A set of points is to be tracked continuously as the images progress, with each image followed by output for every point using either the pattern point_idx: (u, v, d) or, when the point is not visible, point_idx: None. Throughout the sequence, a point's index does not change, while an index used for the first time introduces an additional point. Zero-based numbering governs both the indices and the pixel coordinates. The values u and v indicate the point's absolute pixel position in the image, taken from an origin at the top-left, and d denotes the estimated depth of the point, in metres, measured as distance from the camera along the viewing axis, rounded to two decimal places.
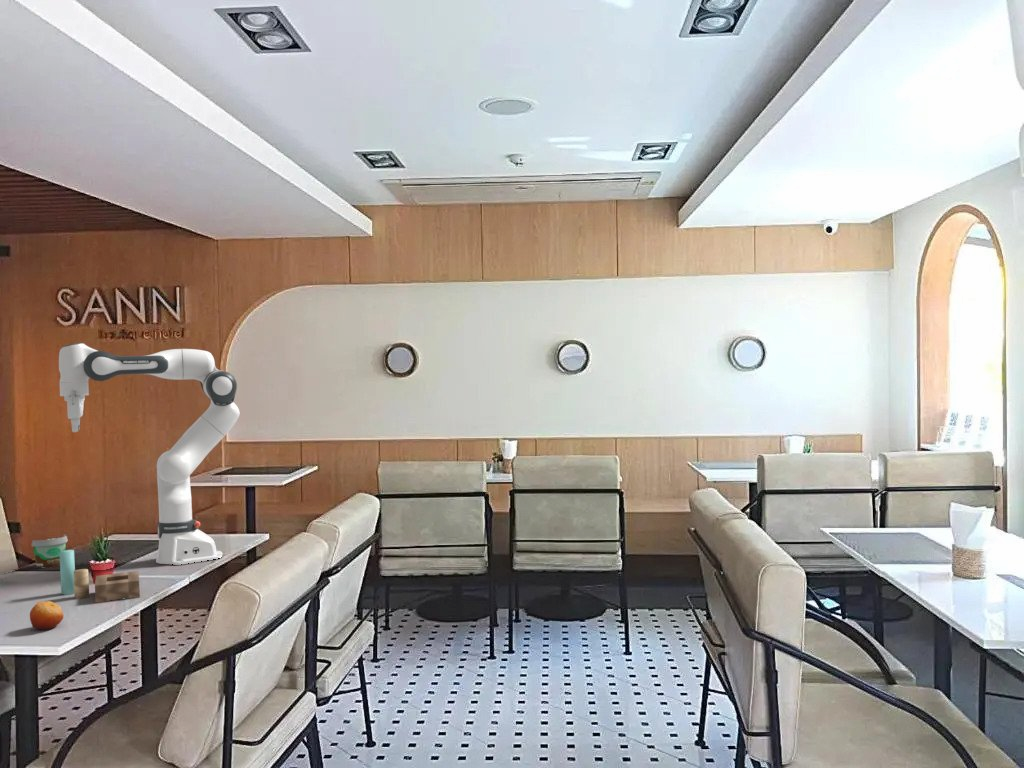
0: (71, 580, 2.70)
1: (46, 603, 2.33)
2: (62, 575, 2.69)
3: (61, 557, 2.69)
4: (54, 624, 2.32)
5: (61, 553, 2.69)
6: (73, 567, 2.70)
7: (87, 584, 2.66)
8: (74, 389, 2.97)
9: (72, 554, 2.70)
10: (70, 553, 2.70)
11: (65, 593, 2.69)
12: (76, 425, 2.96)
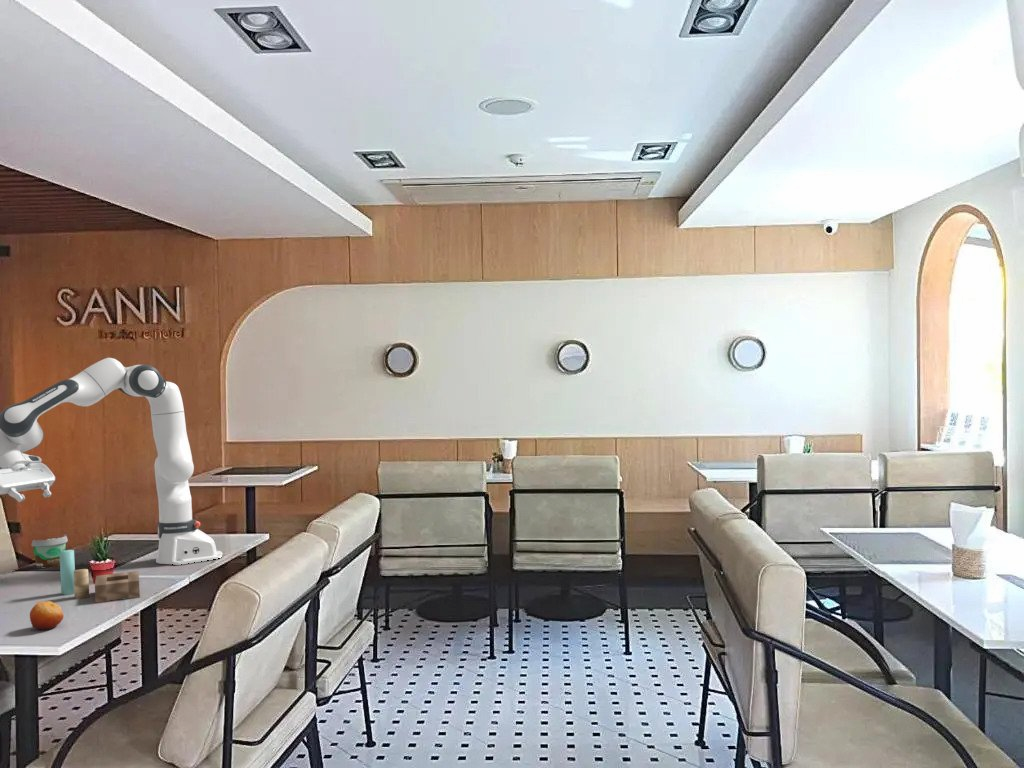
0: (71, 580, 2.70)
1: (46, 603, 2.33)
2: (62, 575, 2.69)
3: (61, 557, 2.69)
4: (54, 624, 2.32)
5: (61, 553, 2.69)
6: (73, 567, 2.70)
7: (87, 584, 2.66)
8: None
9: (72, 554, 2.70)
10: (70, 553, 2.70)
11: (65, 593, 2.69)
12: (16, 494, 2.70)
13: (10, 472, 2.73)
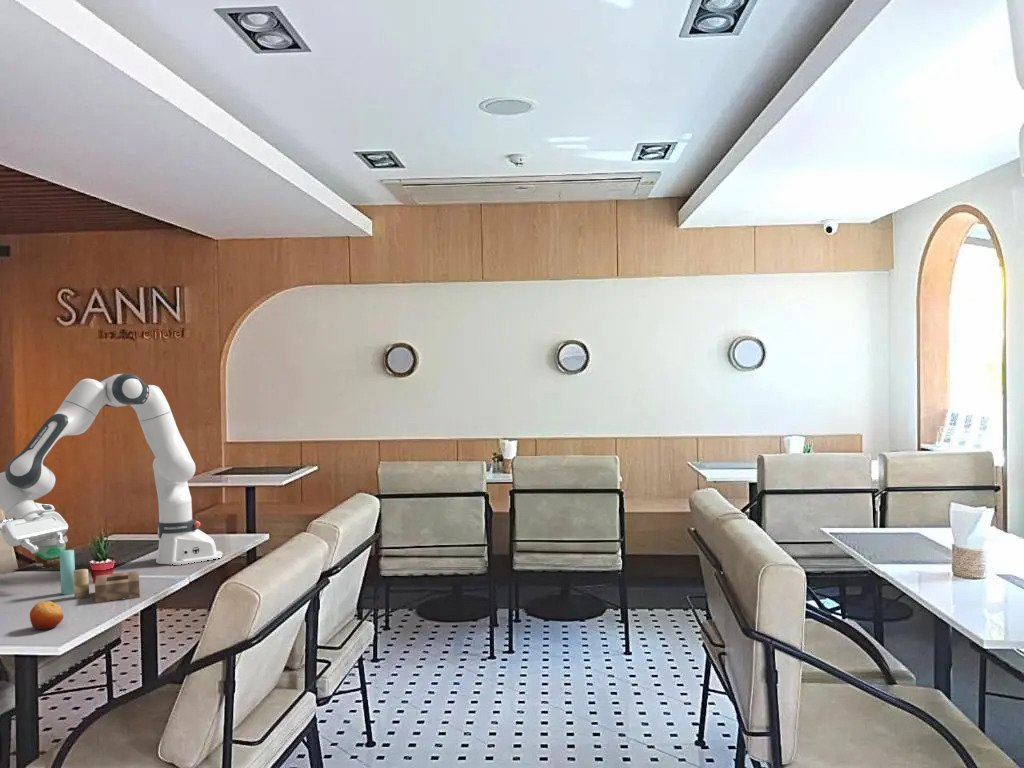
0: (71, 580, 2.70)
1: (46, 603, 2.33)
2: (62, 575, 2.69)
3: (61, 557, 2.69)
4: (54, 624, 2.32)
5: (61, 553, 2.69)
6: (73, 567, 2.70)
7: (87, 584, 2.66)
8: (12, 516, 2.73)
9: (72, 554, 2.70)
10: (70, 553, 2.70)
11: (65, 593, 2.69)
12: (29, 546, 2.68)
13: (23, 523, 2.72)
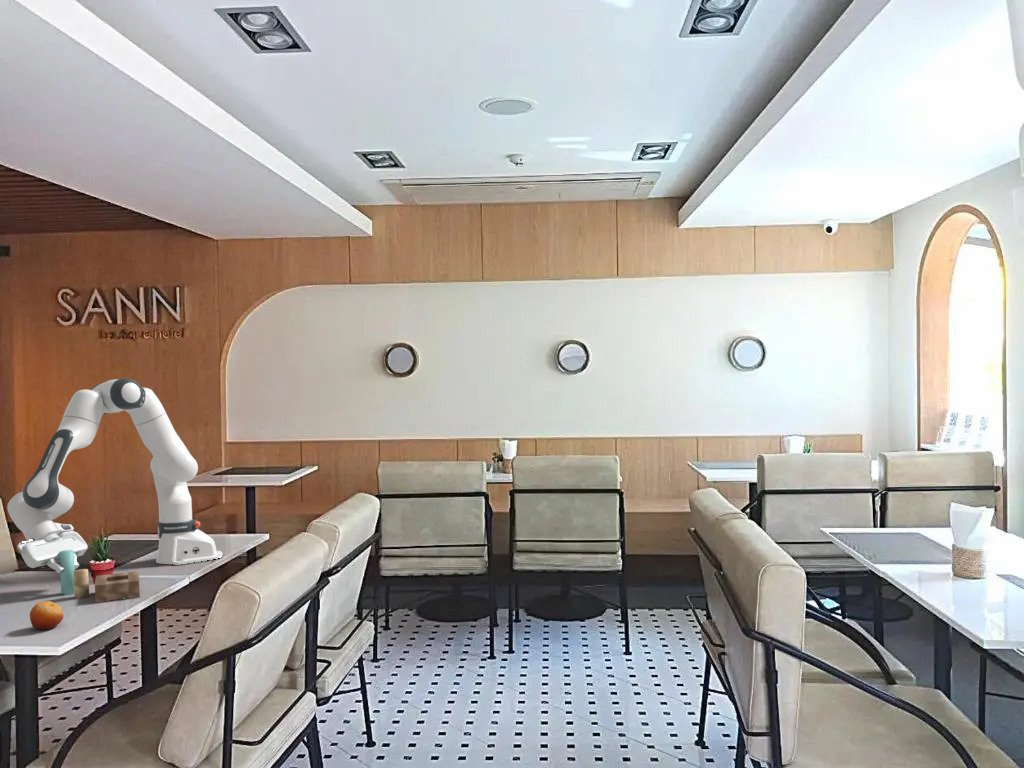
0: (71, 580, 2.70)
1: (46, 603, 2.33)
2: (62, 575, 2.69)
3: (61, 557, 2.69)
4: (54, 624, 2.32)
5: (61, 553, 2.69)
6: (73, 567, 2.70)
7: (87, 584, 2.66)
8: (31, 537, 2.70)
9: (72, 554, 2.70)
10: (70, 553, 2.70)
11: (65, 593, 2.69)
12: (55, 565, 2.67)
13: (43, 543, 2.69)
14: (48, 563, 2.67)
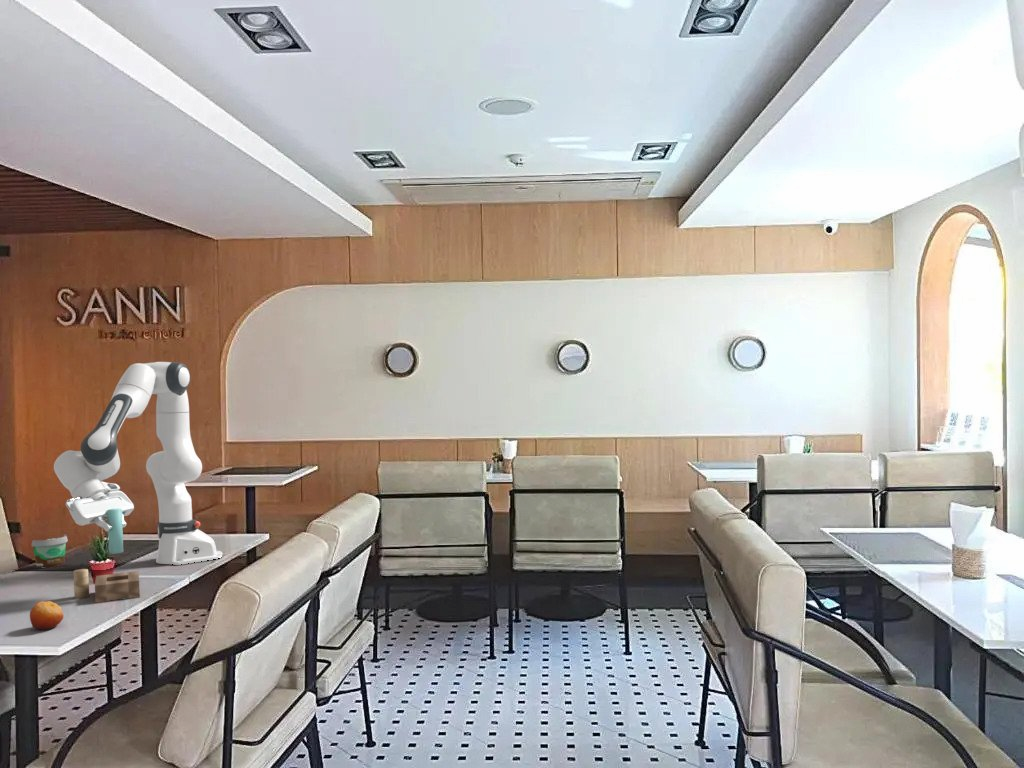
0: (119, 538, 2.66)
1: (46, 603, 2.33)
2: (110, 533, 2.65)
3: (109, 515, 2.65)
4: (54, 624, 2.32)
5: (109, 511, 2.65)
6: (121, 526, 2.67)
7: (87, 584, 2.66)
8: (79, 495, 2.66)
9: (120, 512, 2.66)
10: (118, 511, 2.66)
11: (113, 552, 2.65)
12: (103, 523, 2.64)
13: (91, 501, 2.65)
14: (96, 521, 2.64)
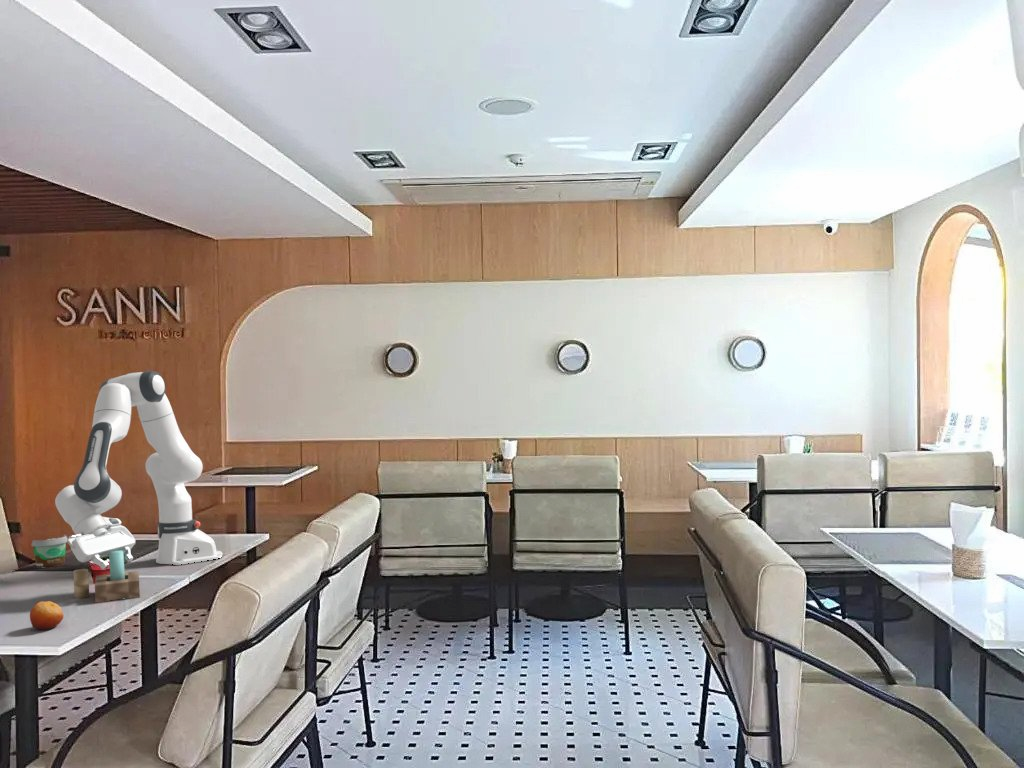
0: None
1: (46, 603, 2.33)
2: (112, 576, 2.65)
3: (111, 558, 2.65)
4: (54, 624, 2.32)
5: (111, 554, 2.65)
6: (123, 568, 2.67)
7: (87, 584, 2.66)
8: (80, 531, 2.66)
9: (122, 555, 2.67)
10: (120, 554, 2.66)
11: None
12: (99, 561, 2.62)
13: (92, 538, 2.66)
14: (92, 559, 2.62)
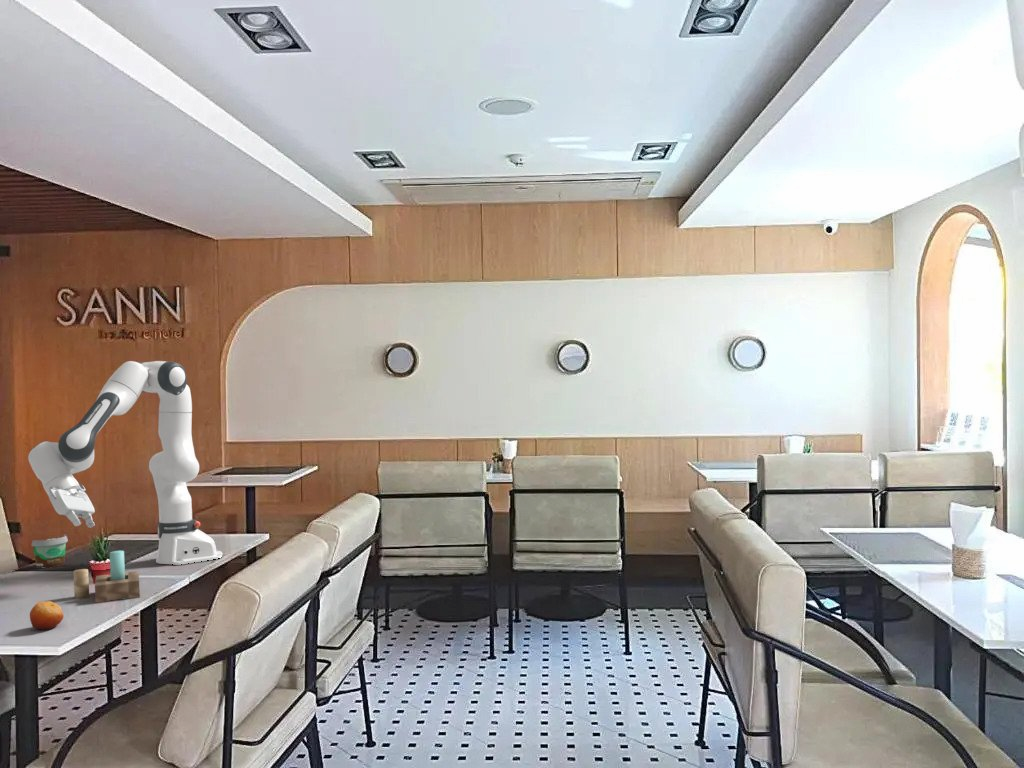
0: None
1: (46, 603, 2.33)
2: (112, 576, 2.65)
3: (111, 558, 2.65)
4: (54, 624, 2.32)
5: (111, 554, 2.65)
6: (123, 568, 2.67)
7: (87, 584, 2.66)
8: (56, 486, 2.71)
9: (122, 555, 2.67)
10: (121, 554, 2.66)
11: None
12: (74, 518, 2.68)
13: (68, 494, 2.71)
14: (68, 514, 2.67)
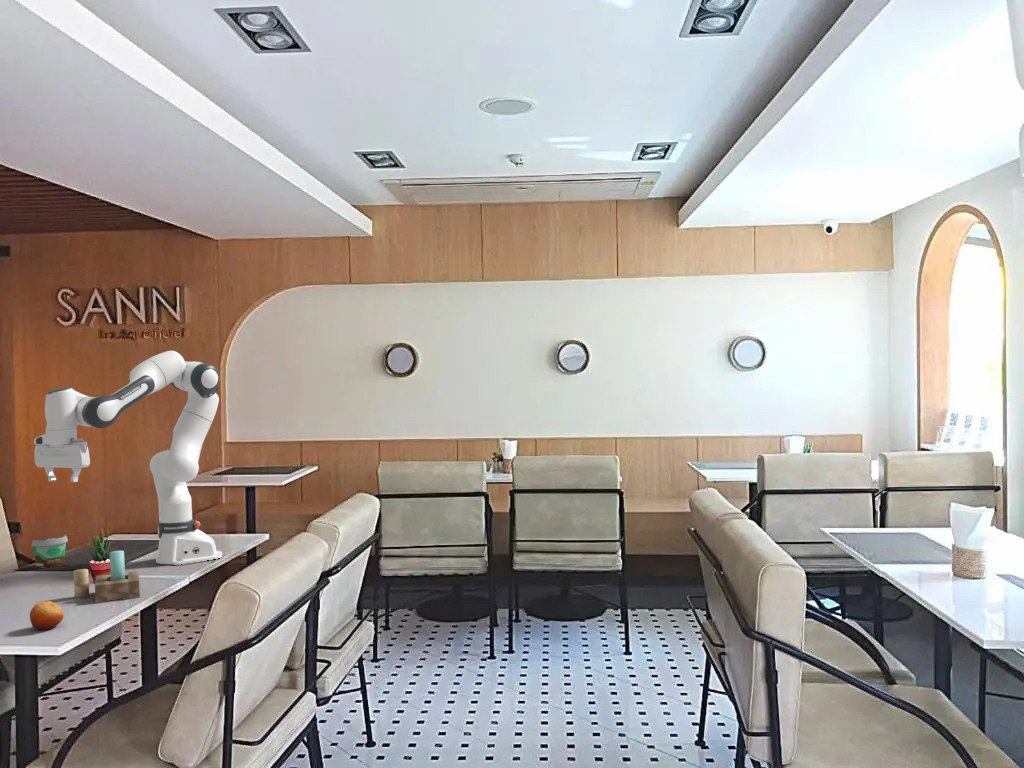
0: None
1: (46, 603, 2.33)
2: (112, 576, 2.65)
3: (111, 558, 2.65)
4: (54, 624, 2.32)
5: (111, 554, 2.65)
6: (123, 568, 2.67)
7: (87, 584, 2.66)
8: (72, 436, 2.80)
9: (122, 555, 2.67)
10: (121, 554, 2.66)
11: None
12: (77, 474, 2.80)
13: None
14: (77, 469, 2.79)
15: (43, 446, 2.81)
